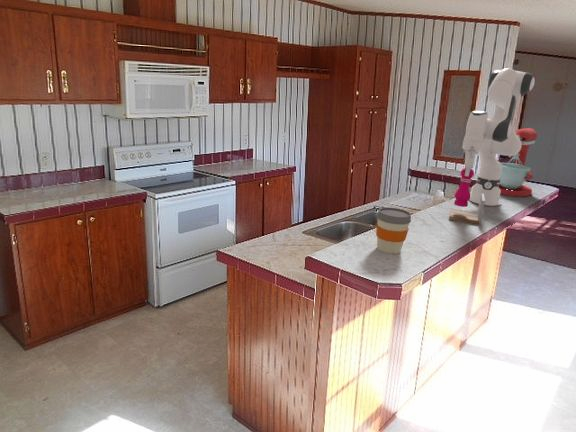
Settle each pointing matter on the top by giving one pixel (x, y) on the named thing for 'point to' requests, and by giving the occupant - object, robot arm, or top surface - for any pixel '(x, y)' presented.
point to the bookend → (468, 214)
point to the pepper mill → (464, 189)
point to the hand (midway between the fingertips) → (466, 174)
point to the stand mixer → (518, 167)
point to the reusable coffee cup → (392, 229)
